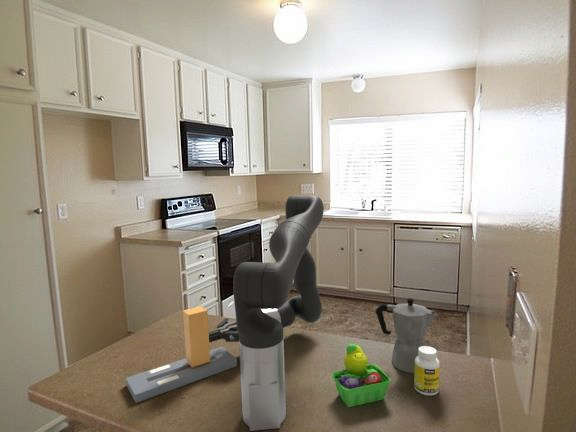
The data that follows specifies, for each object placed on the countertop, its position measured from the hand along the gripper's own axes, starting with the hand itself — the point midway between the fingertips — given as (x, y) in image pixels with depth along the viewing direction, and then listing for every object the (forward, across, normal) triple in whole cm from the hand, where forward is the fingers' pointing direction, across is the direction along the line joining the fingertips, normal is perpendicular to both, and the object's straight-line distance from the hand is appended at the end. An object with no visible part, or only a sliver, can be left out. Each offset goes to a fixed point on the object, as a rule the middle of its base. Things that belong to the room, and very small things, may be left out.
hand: (206, 338), depth 99 cm
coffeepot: (-42, +31, +8) cm, 53 cm away
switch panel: (+7, 0, +8) cm, 10 cm away
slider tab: (+3, 0, +6) cm, 6 cm away
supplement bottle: (-36, +42, +8) cm, 56 cm away
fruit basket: (-22, +34, +8) cm, 41 cm away
